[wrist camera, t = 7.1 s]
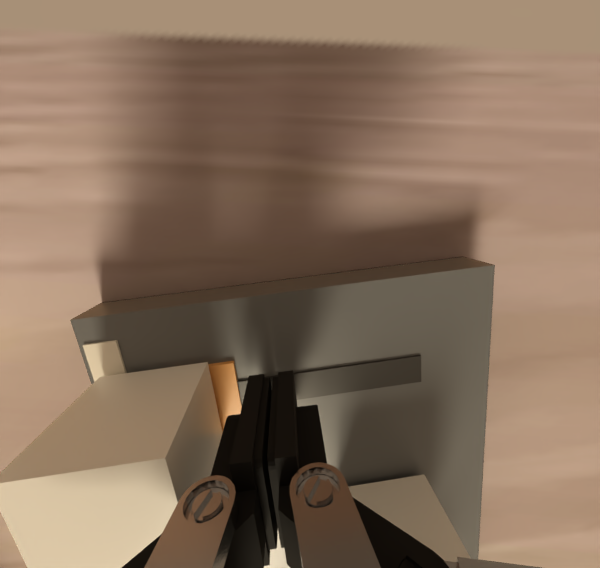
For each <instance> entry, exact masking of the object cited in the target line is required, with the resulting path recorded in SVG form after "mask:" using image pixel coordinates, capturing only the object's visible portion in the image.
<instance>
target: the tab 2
mask: <svg viewBox="0 0 600 568" xmlns="http://www.w3.org/2000/svg"><path fill="white" fill-rule="evenodd" d="M348 488H349V490H350V493H351V495H352V497H353V498H355V499H356V500H358V501H359V502H361V503H362V504H364V505H365V506H367V507H368V508H370V509H371V510H373V511H374V512H376V513H377V514H379V515H380V516H382V517H383V518H385V519H386V520H388V521H389V522H391V523H392V524H394V525H395V526H397V527H398V528H400V529H401V530H403V531H404V532H406V533H407V534H409V535H410V536H412V537H413V538H415V539H416V540H418V541H419V542H421V543H422V544H424V545H425V546H427V547H428V548H430V549H431V550H433V551H434V552H435V553H436V554H438V555H439V556H440V557H441V558H442V559H443V560H444V561H450V562H457V557H463V558H470V556H469V554H468V553H467V551H466V549H465V547H464V545H463V544H462V542H461V540H460V538H459V536H458V534H457V533H456V531H455V529H454V527H453V525H452V524H451V522H450V520H449V518H448V516H447V515H446V513H445V511H444V509H443V507H442V506H441V504H440V502H439V500H438V498H437V497H436V495H435V493H434V491H433V489H432V487H431V486H430V484H429V482H428V480H427V478H426V477H425V475H418V476H411V477H405V478H399V479H393V480H387V481H380V482H374V483H368V484H362V485H356V486H349V487H348Z"/></svg>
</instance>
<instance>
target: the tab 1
mask: <svg viewBox="0 0 600 568" xmlns="http://www.w3.org/2000/svg"><path fill="white" fill-rule="evenodd" d="M222 433H223V432H222V427H221V422H220V418H219V413H218V408H217V404H216V399H215V394H214V390H213V385H212V380H211V375H210V371H209V366H208V362H204V363H196V364H189V365H182V366H175V367H168V368H160V369H153V370H146V371H139V372H132V373H124V374H117V375H110V376H103V377H99V378H98V379H97V380H96V381H95V382H94V383H93V384H92V385H91V386H90V387H89V388H88V389H87V390H86V391H85V392H84V393H83V394H82V395H81V396H80V397H78V398H77V399H76V400H75V401H74V402H73V403H72V404H71V405H70V406H69V407H68V408H67V409H66V410H65V411H64V412H63V413H62V414H61V415H60V416H59V417H58V418H57V419H56V420H55V421H54V422H53V423H52V424H51V425H49V426H48V427H47V428H46V429H45V430H44V431H43V432H42V433H41V434H40V435H39V436H38V437H37V438H36V439H35V440H34V441H33V442H32V443H31V444H30V445H29V446H28V447H27V448H26V449H25V450H24V451H23V452H22V453H20V454H19V455H18V456H17V457H16V458H15V459H14V460H13V461H12V462H11V463H10V464H9V465H8V466H7V467H6V468H5V469H4V470H3V471H2V472H1V473H0V512H1V514H2V516H3V518H4V520H5V522H6V524H7V526H8V528H9V530H10V532H11V535H12V537H13V539H14V541H15V543H16V545H17V547H18V549H19V551H20V553H21V555H22V557H23V560H24V562H25V564H26V566H27V568H122V567H123V566H124V565H125V564H126V563H128V562H129V561H130V560H131V559H132V558H134V557H135V556H136V555H137V554H138V553H139V552H141V551H142V550H143V549H144V548H145V547H147V546H148V545H149V544H150V543H151V542H153V541H154V540H155V539H156V538H157V537H159V536H160V535H161V534H162V533H163V531H164V529H165V527H166V525H167V523H168V521H169V519H170V517H171V515H172V513H173V511H174V509H175V507H176V505H177V504H178V502H179V500H180V498H181V497H182V495H183V494H184V492H185V491H186V490H187V489H188V488H189V487H190V486H191V485H192V484H194V483H196V482H197V481H199V480H200V479H203V478H206V477H208V476H210V475H211V472H212V468H213V465H214V461H215V458H216V454H217V451H218V447H219V443H220V440H221V436H222Z"/></svg>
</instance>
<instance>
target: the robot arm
mask: <svg viewBox="0 0 600 568" xmlns="http://www.w3.org/2000/svg"><path fill="white" fill-rule="evenodd" d="M278 532H279V539H280V545H281V548H284V549H285V555H286V562H287V565H288V566H289V567H290V568H540V567H533V566H525V565H517V564H509V563H502V562H494V561H486V560H478V559H471V558H463V557H457V562H450V561H444V560H443V559H442V558H441V557H440V556H439V555H438V554H436V553H435V552H434V551H433V550H431V549H430V548H428V547H427V546H425V545H424V544H422V543H421V542H419V541H418V540H416V539H415V538H413V537H412V536H410V535H409V534H407V533H406V532H404V531H403V530H401V529H400V528H398V527H397V526H395V525H394V524H392V523H391V522H389V521H388V520H386V519H385V518H383V517H382V516H380V515H379V514H377V513H376V512H374V511H373V510H371V509H370V508H368V507H367V506H365V505H364V504H362V503H361V502H359V501H358V500H356V499H355V498H353V497H352V495H351V493H350V490H349V488H348V485H347V483H346V480H345V478H344V476H343V475H342V473H341V472H340V471H339V470H338V469H337V468H336V467H334V466H332V465H330V464H327V459H326V453H325V447H324V441H323V435H322V429H321V423H320V417H319V411H318V405H309V406H301V407H297V399H296V391H295V383H294V375H293V370H292V371H284V372H278V376H276V377H273V383H272V387H271V380H270V377H268V378H265V376H264V374H259V375H251V376H249V377H248V381H247V386H246V390H245V395H244V399H243V404H242V409H241V413H240V414H236V415H229V416H228V417H227V419H226V422H225V426H224V429H223V433H222V436H221V440H220V443H219V447H218V451H217V454H216V458H215V461H214V465H213V468H212V472H211V475H210V476H208V477H206V478H203V479H200V480H199V481H197V482H196V483H194V484H192V485H191V486H190V487H189V488H188V489H187V490H186V491H185V492H184V494H183V495H182V497H181V498H180V500H179V502H178V504H177V505H176V507H175V509H174V511H173V513H172V515H171V517H170V519H169V521H168V523H167V525H166V527H165V529H164V531H163V533H162V534H161V535H160V536H159V537H157V538H156V539H155V540H154V541H153V542H151V543H150V544H149V545H148V546H147V547H145V548H144V549H143V550H142V551H141V552H139V553H138V554H137V555H136V556H135V557H134V558H132V559H131V560H130V561H129V562H128V563H126V564H125V565H124V566H123V567H122V568H264V566H267V565H270V550H272V549H277V536H278Z"/></svg>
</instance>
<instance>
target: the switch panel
mask: <svg viewBox="0 0 600 568" xmlns="http://www.w3.org/2000/svg"><path fill="white" fill-rule="evenodd" d="M494 268H495V265H493V264H489V263H485V262H481V261H478V260H474V259H470V258H467V257H457V258H449V259H441V260H434V261H426V262H418V263H410V264H402V265H394V266H387V267H379V268H371V269H363V270H355V271H347V272H340V273H332V274H324V275H316V276H308V277H300V278H293V279H285V280H277V281H269V282H261V283H253V284H245V285H238V286H230V287H222V288H214V289H206V290H198V291H191V292H183V293H175V294H167V295H159V296H151V297H144V298H136V299H128V300H120V301H112V302H104V303H100V304H98V305H97V306H95V307H93V308H91V309H89V310H88V311H86V312H84V313H82V314H80V315H78V316H77V317H75V318H73V319H71V323H72V326H73V329H74V332H75V335H76V338H77V341H78V345H79V348H80V351H81V354H82V357H83V360H84V363H85V366H86V369H87V372H88V375H89V378H90V381H91V384H93V383H94V382H95V381H96V380H97V379H98V378H99V377H103V376H110V375H117V374H124V373H132V372H139V371H146V370H153V369H160V368H168V367H175V366H182V365H189V364H196V363H204V362H208V366H209V371H210V375H211V380H212V385H213V390H214V394H215V399H216V404H217V408H218V413H219V418H220V422H221V427H222V432H223V429H224V426H225V422H226V419H227V417H228V416H229V415H236V414H240V413H241V409H242V404H243V399H244V395H245V390H246V386H247V381H248V377H249V376H251V375H259V374H264V376H265V378H268V377H270V380H271V387H272V383H273V377H276V376H278V372H284V371H292V370H293V375H294V383H295V391H296V399H297V407H301V406H309V405H318V411H319V417H320V423H321V429H322V435H323V441H324V447H325V453H326V459H327V464H330V465H332V466H334V467H336V468H337V469H338V470H339V471H340V472H341V473H342V475H343V476H344V478H345V480H346V483H347V485H348V487H349V486H356V485H362V484H368V483H374V482H380V481H387V480H393V479H399V478H405V477H411V476H418V475H425V477H426V478H427V480H428V482H429V484H430V486H431V487H432V489H433V491H434V493H435V495H436V497H437V498H438V500H439V502H440V504H441V506H442V507H443V509H444V511H445V513H446V515H447V516H448V518H449V520H450V522H451V524H452V525H453V527H454V529H455V531H456V533H457V534H458V536H459V538H460V540H461V542H462V544H463V545H464V547H465V549H466V551H467V553H468V554H469V556H470V558H471V559H478V552H479V534H480V516H481V499H482V481H483V463H484V445H485V428H486V410H487V392H488V374H489V357H490V339H491V321H492V303H493V286H494ZM264 568H290V567H289V566H288V565H287V562H286V555H285V549H284V548H281V545H280V539H279V532H278V536H277V549H272V550H270V565H267V566H264Z"/></svg>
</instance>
